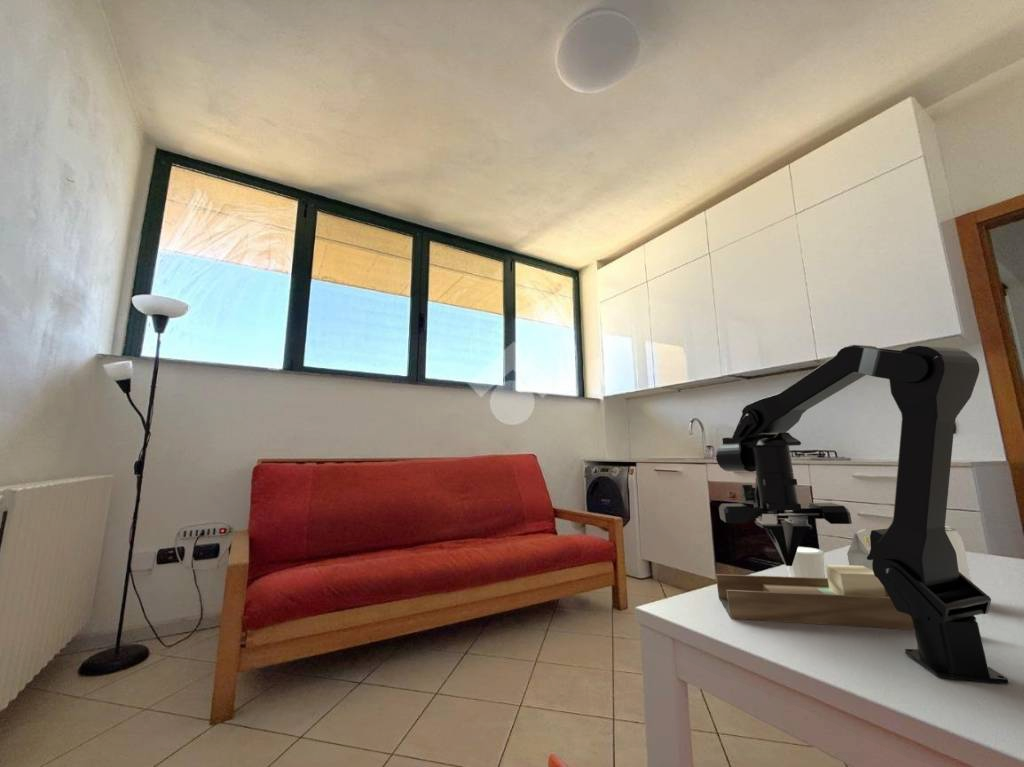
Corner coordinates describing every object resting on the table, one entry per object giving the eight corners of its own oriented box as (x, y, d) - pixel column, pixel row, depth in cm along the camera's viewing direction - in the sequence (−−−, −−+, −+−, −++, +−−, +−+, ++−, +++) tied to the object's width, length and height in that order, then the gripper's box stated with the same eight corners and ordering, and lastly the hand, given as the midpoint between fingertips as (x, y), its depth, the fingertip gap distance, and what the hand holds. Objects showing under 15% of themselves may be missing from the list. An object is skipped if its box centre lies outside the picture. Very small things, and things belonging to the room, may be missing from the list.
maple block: (887, 602, 63) (881, 574, 64) (845, 600, 65) (840, 573, 65) (867, 591, 68) (862, 565, 69) (829, 589, 70) (825, 564, 70)
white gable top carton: (852, 585, 80) (843, 532, 82) (863, 578, 84) (854, 527, 86) (877, 589, 77) (866, 534, 79) (886, 582, 81) (876, 529, 83)
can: (976, 608, 67) (958, 531, 69) (921, 599, 72) (906, 527, 74) (978, 598, 71) (961, 526, 73) (925, 590, 76) (911, 523, 78)
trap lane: (965, 633, 58) (958, 601, 59) (730, 618, 66) (727, 590, 67) (919, 608, 68) (913, 581, 68) (718, 598, 76) (715, 574, 77)
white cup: (815, 581, 83) (809, 545, 85) (838, 592, 77) (831, 552, 78) (780, 581, 84) (775, 546, 85) (800, 592, 77) (794, 553, 79)
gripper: (815, 469, 78) (830, 556, 75) (709, 472, 83) (719, 553, 80) (844, 471, 67) (862, 572, 64) (720, 474, 72) (732, 568, 69)
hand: (788, 565), depth 70 cm, fingers closed
